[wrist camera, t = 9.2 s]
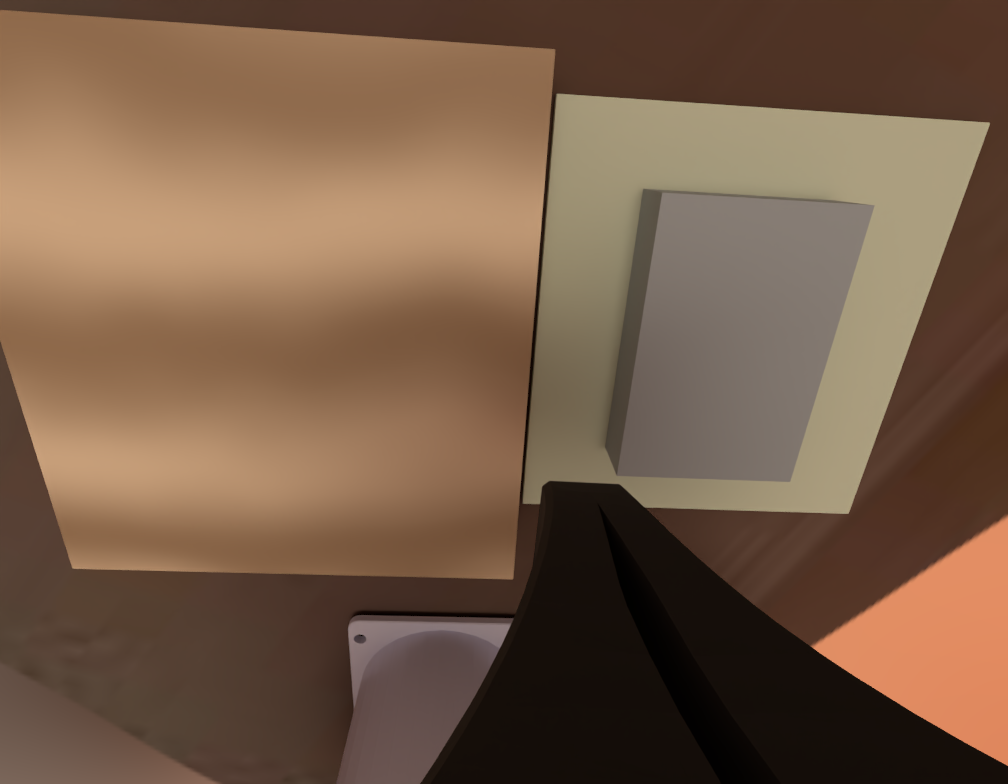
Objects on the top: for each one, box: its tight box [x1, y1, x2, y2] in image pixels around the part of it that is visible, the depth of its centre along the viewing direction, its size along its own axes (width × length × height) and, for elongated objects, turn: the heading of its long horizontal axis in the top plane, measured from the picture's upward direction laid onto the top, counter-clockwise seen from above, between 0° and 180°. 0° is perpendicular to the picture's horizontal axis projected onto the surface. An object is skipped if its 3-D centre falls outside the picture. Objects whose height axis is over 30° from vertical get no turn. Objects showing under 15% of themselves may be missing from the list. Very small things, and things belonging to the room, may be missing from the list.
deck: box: [0, 10, 555, 579], centre depth 17 cm, size 15×14×4 cm
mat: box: [522, 94, 990, 514], centre depth 19 cm, size 14×13×1 cm
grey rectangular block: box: [605, 189, 875, 482], centre depth 18 cm, size 9×6×2 cm, turn 177°
